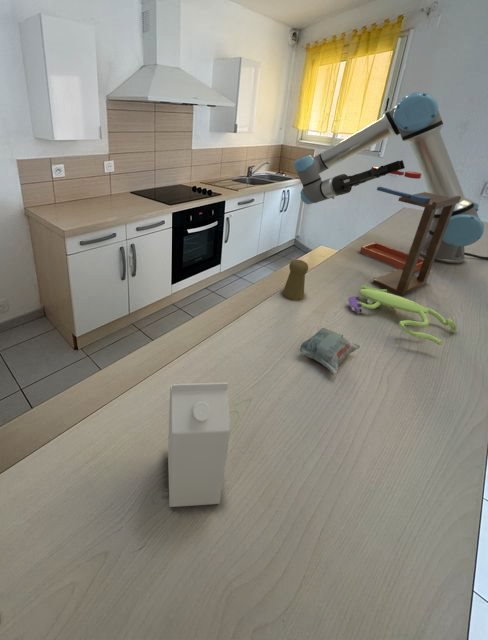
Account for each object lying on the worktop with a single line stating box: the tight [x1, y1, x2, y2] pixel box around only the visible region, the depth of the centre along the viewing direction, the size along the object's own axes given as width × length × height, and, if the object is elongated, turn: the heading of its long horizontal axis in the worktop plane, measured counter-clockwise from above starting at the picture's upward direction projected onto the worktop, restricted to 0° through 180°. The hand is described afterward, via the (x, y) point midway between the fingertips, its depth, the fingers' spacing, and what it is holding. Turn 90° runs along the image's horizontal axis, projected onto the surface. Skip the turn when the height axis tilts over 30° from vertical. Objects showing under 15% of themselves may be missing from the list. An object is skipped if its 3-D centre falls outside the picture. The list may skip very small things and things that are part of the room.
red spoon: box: [370, 166, 422, 180], centre depth 107 cm, size 15×4×1 cm, turn 33°
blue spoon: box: [376, 186, 431, 203], centre depth 95 cm, size 15×4×1 cm, turn 25°
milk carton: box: [167, 382, 231, 508], centre depth 44 cm, size 7×7×19 cm
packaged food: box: [299, 327, 361, 376], centre depth 72 cm, size 9×12×5 cm
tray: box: [359, 242, 424, 273], centre depth 123 cm, size 19×10×3 cm, turn 33°
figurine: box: [347, 284, 457, 346], centre depth 87 cm, size 18×27×6 cm
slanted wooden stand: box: [372, 191, 461, 297], centre depth 100 cm, size 10×16×30 cm, turn 123°
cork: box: [282, 259, 309, 301], centre depth 95 cm, size 6×6×11 cm
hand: (401, 164), depth 105 cm, fingers closed on red spoon, 2 cm apart
